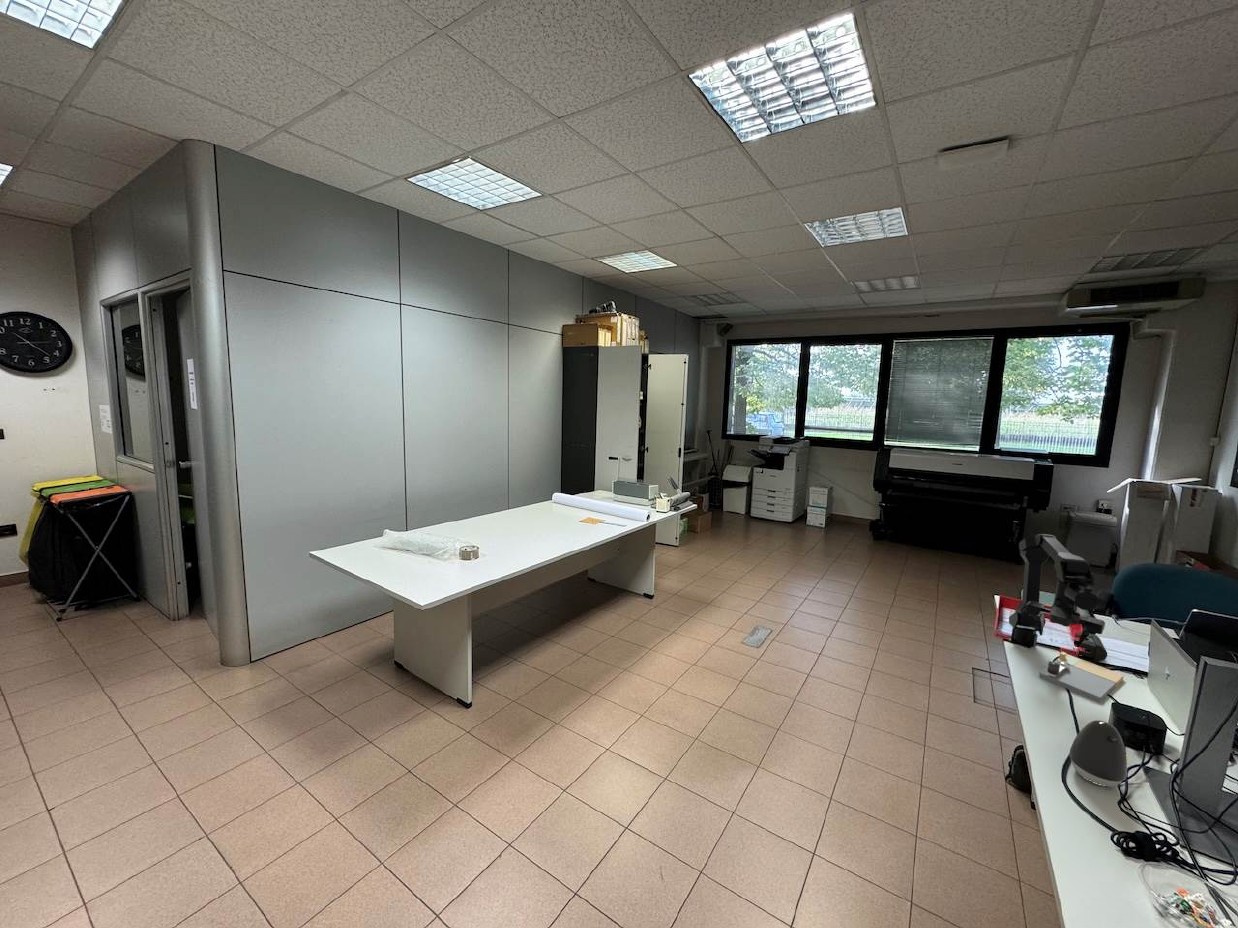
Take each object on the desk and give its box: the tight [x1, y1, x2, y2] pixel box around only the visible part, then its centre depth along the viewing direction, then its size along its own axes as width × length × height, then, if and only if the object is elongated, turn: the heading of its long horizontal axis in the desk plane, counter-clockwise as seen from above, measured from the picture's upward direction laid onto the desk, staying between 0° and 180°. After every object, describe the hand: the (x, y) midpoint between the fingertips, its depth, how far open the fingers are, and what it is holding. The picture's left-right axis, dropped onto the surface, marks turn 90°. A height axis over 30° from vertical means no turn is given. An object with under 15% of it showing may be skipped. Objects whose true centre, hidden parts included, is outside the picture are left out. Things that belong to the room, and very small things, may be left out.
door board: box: [1038, 651, 1125, 703], centre depth 162 cm, size 15×22×4 cm
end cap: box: [1073, 632, 1108, 663], centre depth 175 cm, size 10×7×7 cm
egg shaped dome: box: [1069, 720, 1128, 788], centre depth 121 cm, size 10×10×15 cm
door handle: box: [1047, 661, 1070, 678], centre depth 163 cm, size 12×3×4 cm, turn 122°
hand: (1059, 640), depth 160 cm, fingers open, 9 cm apart
